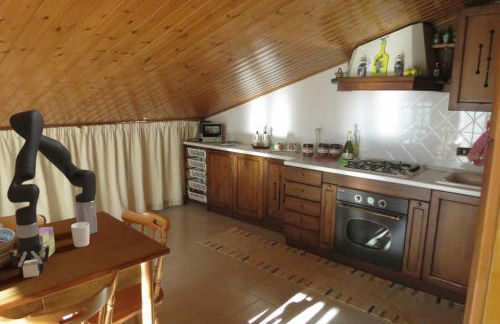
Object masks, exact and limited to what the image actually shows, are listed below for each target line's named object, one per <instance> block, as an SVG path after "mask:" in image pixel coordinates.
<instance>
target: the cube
mask: <svg viewBox="0 0 500 324" xmlns="http://www.w3.org/2000/svg"><path fill="white" fill-rule="evenodd" d="M40 273H41V272H40V270H39V262H38V261H37V260H36V259H35V260H32V259H30V260H29V259H28V260H24V261H23V275H22V276H23V278H24V279H25V278H32V277H38V276H39V275H40Z"/></svg>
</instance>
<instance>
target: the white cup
mask: <svg viewBox="0 0 500 324" xmlns="http://www.w3.org/2000/svg"><path fill="white" fill-rule="evenodd" d="M70 230H71V236H72V242H73V247H75V248H83V247H87V246H88V245H89V244H90V234H89V223H88V222H78V223H77V222H75V223H72V224H71V225H70Z"/></svg>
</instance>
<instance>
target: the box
mask: <svg viewBox="0 0 500 324" xmlns="http://www.w3.org/2000/svg"><path fill="white" fill-rule="evenodd" d="M39 237H40V244H41V246H47V245H49V257H51V256H52V255H53V254H54V253H55V252H56V243H55V233H54V227H53V226H44V227H43V226H42V227H39ZM39 253H40V254H41V256H42V258H44V257H45V252H43V250H42V249H41V251H40V252H39ZM31 260H35V258H31Z"/></svg>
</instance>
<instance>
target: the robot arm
mask: <svg viewBox="0 0 500 324" xmlns="http://www.w3.org/2000/svg"><path fill="white" fill-rule="evenodd" d="M8 122H9V125H10V127H11V129H12V130H13V131H14V132H15V133H16V134H17V135H18V136H19V137H21V138H22V139H24V140H25V141H24V143H23V145H22V146H21V148H20V150H19V151H18V153H17V155H16V159H15V164H14V175H13V176H12V177H13V178H12V181H11V182H10V185H9V186H8V189H7V192H6V196H7V199H8V201H9V202H10V203H13V204H19V203H20V204H21V203H28V205H26V206H22V207H19V208H17V209H16V210H15V212H14V215H15V224H16V227H15V228H16V229H15V231H16V232H15V235H16V241H17V249H11V250H9V252H8V254H9V255H8V256H9V258H10V261H11V265H12V266H13V267H15V266H17V267H18V271H19V275H21V276H24V275H23V264H24V262H25V259H26V260H27V259H28V260H29V259H32V258H35V259H36V260H37V261H38V262H39V270H40V272H39V273H42V272H43V271H44V269H45V263H46V262H48V260H49V258H50V256H49V245H47V246H41V244H40V237H39V228H40V227H39V224H38V215H37V208H38V207H37V206H38V201H39V198H40V193H41V192H40V191H41V190H40V187H39V186H38V185H37V184H36V183H26V184H24V183H25V182H28V181H31V180H34V179H35V177H36V173H37V172H36V171H37V170H36V169H37V157H38V151H39V152H40V154H42V156H44V157H45V158H46V160H48V161H49V162H50V163H51V164H52V165H53V166H54V167H55V168H56V169H57V170H58V171H60V173H61V174H63V176H64V177H65V178H66V179H67V180H68V181H69V183H70V184H71V185H72V186H74V187H76V188H81V192H80V193H77V194H76V195H75V196H74V198H75V200H74V201H75V213H76V223H78V222H88V223H89V235H93V234H95V233H98V222H97V221H98V220H97V212H96V211H97V209H96V208H97V207H96V194H97V177H96V174H95V172H94V171H93V170H90V169H83V168H79V167H78V166H76V165H75V164H74V163H73V162H72V155H71V152H70V150H69V149H68V148H67V147H66V146H65V145H64V144H63V143H62V142H61V141H60V140H57V139H55V138H53V137H49V136H47V135H44V134H43V132H44V128H45V120H44V117H43V115H42V113H41V112H40V111H39V110H37V109H29V110H25V111H21V112H17V113H14V114H11V116H10V117H9V121H8ZM41 249H42V250H43V252H45V257H44V258H42V256H41V254H40V253H39V252H40V251H41ZM17 253H18V255H20V260H18V259H17Z"/></svg>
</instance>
